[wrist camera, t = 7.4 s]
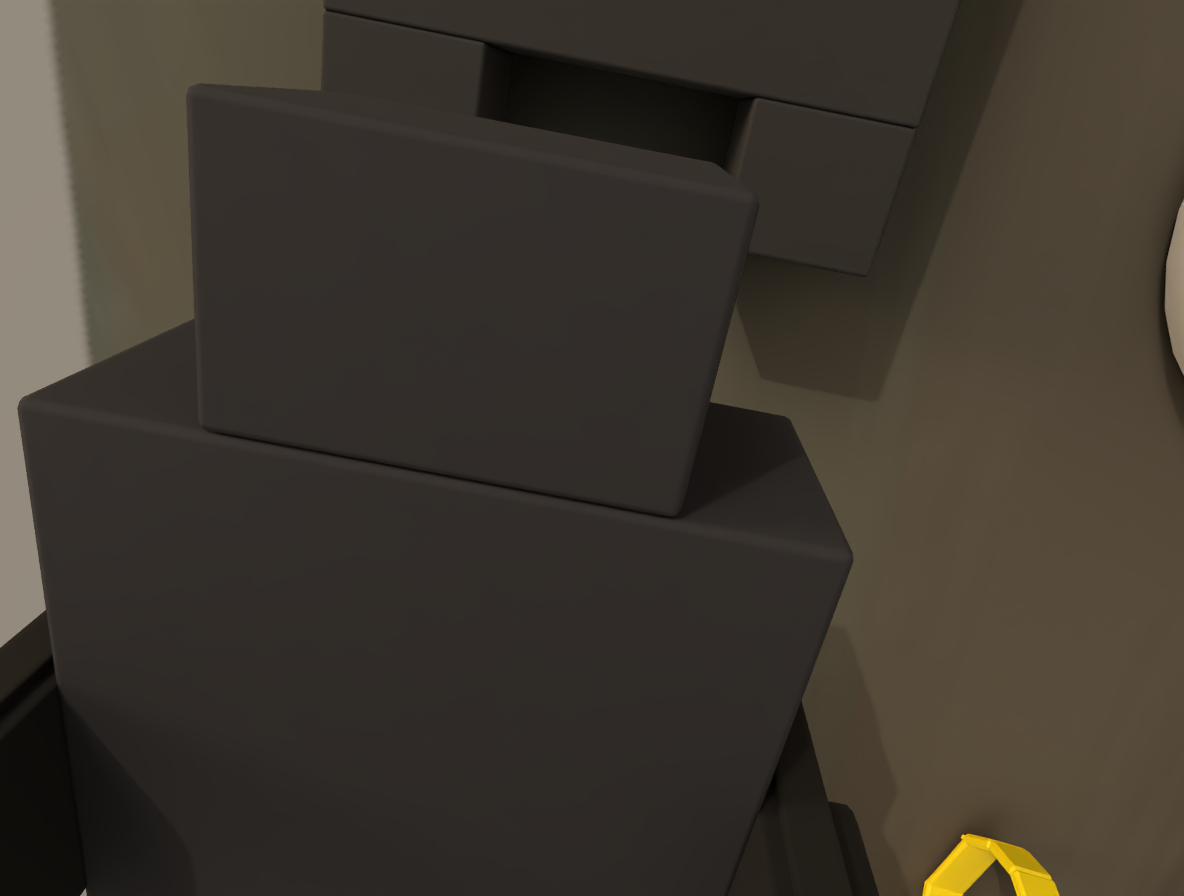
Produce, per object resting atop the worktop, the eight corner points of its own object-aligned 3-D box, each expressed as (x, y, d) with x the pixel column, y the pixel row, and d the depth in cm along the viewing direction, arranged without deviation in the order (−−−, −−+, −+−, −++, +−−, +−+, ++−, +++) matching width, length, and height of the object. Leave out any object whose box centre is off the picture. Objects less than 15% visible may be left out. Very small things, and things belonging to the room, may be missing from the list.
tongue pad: (860, 191, 8) (981, 236, 5) (641, 905, 13) (640, 1139, 10) (207, 64, 8) (-43, 38, 5) (228, 830, 13) (104, 1044, 10)
